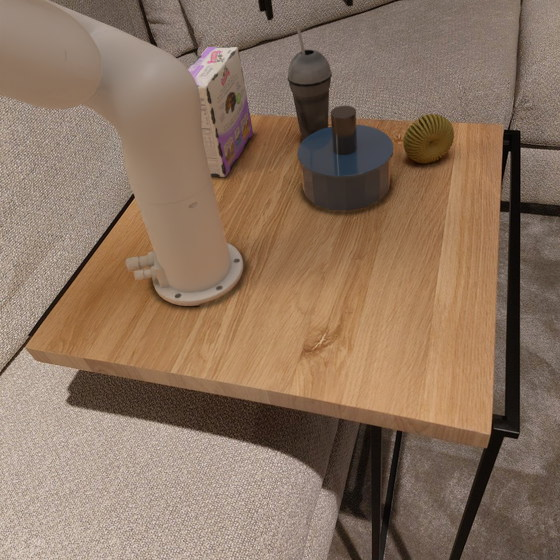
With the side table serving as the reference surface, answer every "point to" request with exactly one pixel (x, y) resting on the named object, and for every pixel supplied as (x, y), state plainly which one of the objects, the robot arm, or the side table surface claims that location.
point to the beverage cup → (310, 88)
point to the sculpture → (428, 138)
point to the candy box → (222, 107)
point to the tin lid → (345, 147)
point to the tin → (346, 189)
